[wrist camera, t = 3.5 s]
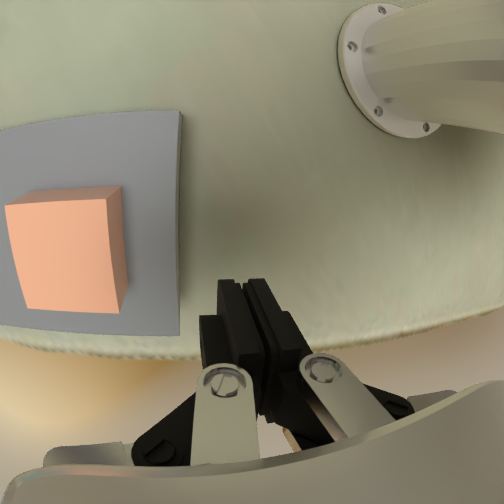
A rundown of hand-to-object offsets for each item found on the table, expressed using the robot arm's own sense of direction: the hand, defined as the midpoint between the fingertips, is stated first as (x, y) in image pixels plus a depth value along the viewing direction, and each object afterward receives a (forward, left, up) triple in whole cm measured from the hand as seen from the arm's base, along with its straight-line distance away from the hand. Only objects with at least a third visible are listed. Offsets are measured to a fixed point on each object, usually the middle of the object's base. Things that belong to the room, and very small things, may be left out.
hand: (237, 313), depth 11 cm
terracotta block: (+9, 0, -7) cm, 11 cm away
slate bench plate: (+12, 0, -12) cm, 16 cm away
